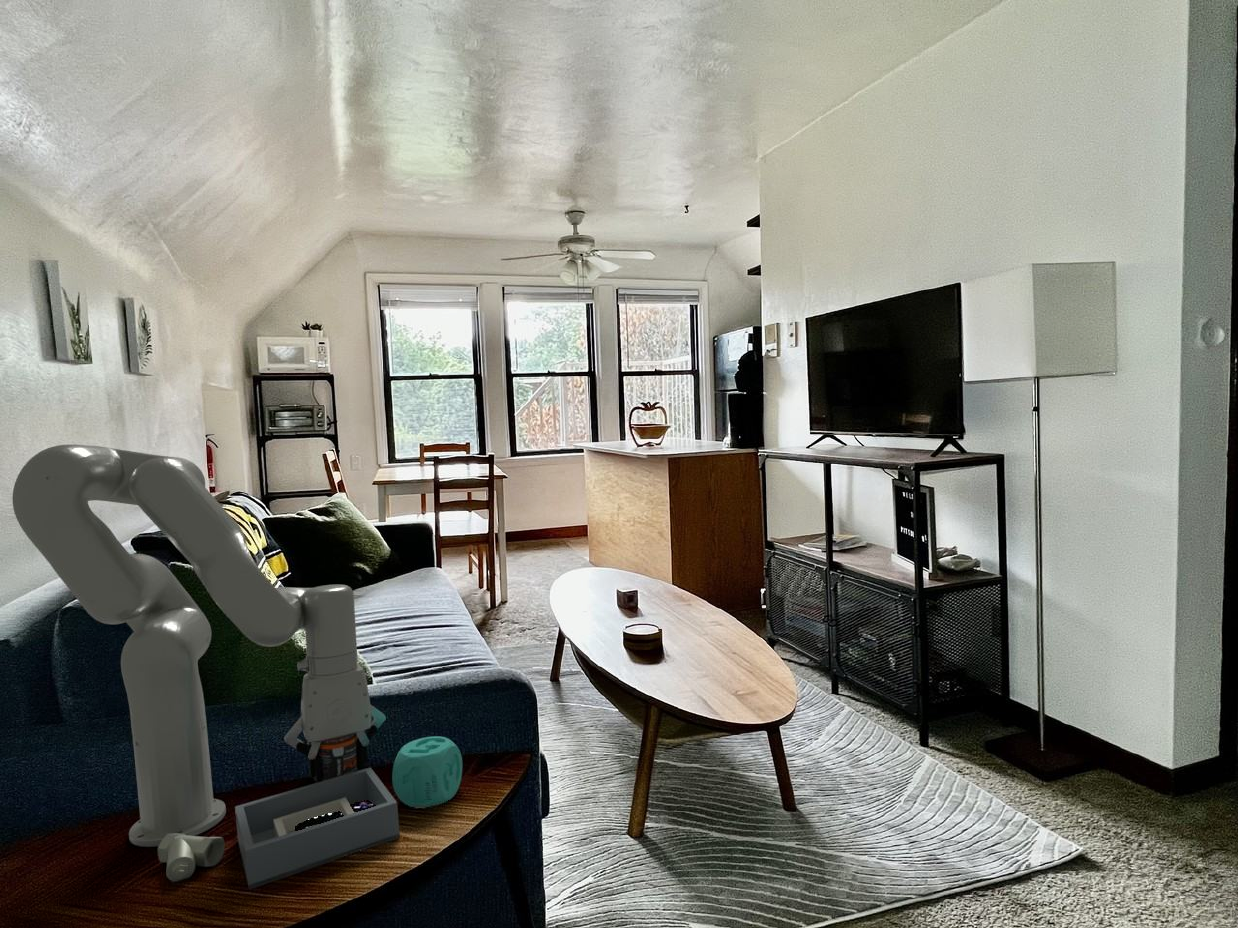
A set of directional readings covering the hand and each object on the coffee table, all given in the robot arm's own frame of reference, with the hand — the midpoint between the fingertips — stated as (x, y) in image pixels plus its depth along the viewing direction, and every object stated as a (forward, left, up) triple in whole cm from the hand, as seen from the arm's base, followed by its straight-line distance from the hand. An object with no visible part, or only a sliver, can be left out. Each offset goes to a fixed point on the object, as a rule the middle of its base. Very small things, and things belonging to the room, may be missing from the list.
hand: (339, 773), depth 119 cm
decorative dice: (+11, +11, -3) cm, 16 cm away
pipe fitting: (+9, -22, -4) cm, 24 cm away
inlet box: (+13, -6, -3) cm, 15 cm away
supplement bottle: (0, 0, -3) cm, 3 cm away
